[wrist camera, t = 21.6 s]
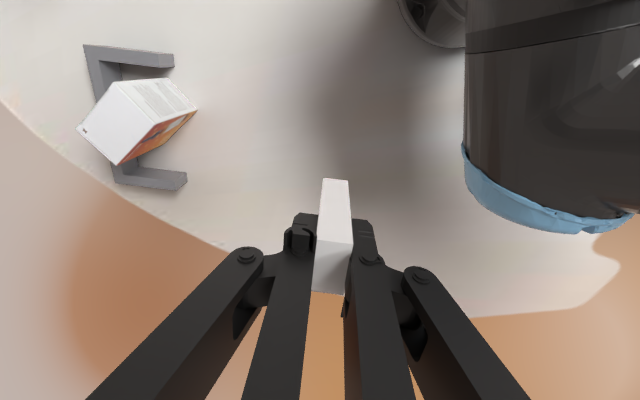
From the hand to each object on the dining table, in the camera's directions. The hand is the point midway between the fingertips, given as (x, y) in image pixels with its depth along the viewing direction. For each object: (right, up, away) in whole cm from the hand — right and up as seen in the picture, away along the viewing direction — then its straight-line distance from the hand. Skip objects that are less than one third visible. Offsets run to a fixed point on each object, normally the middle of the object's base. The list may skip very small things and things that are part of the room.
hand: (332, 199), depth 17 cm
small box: (-23, +13, +23) cm, 34 cm away
